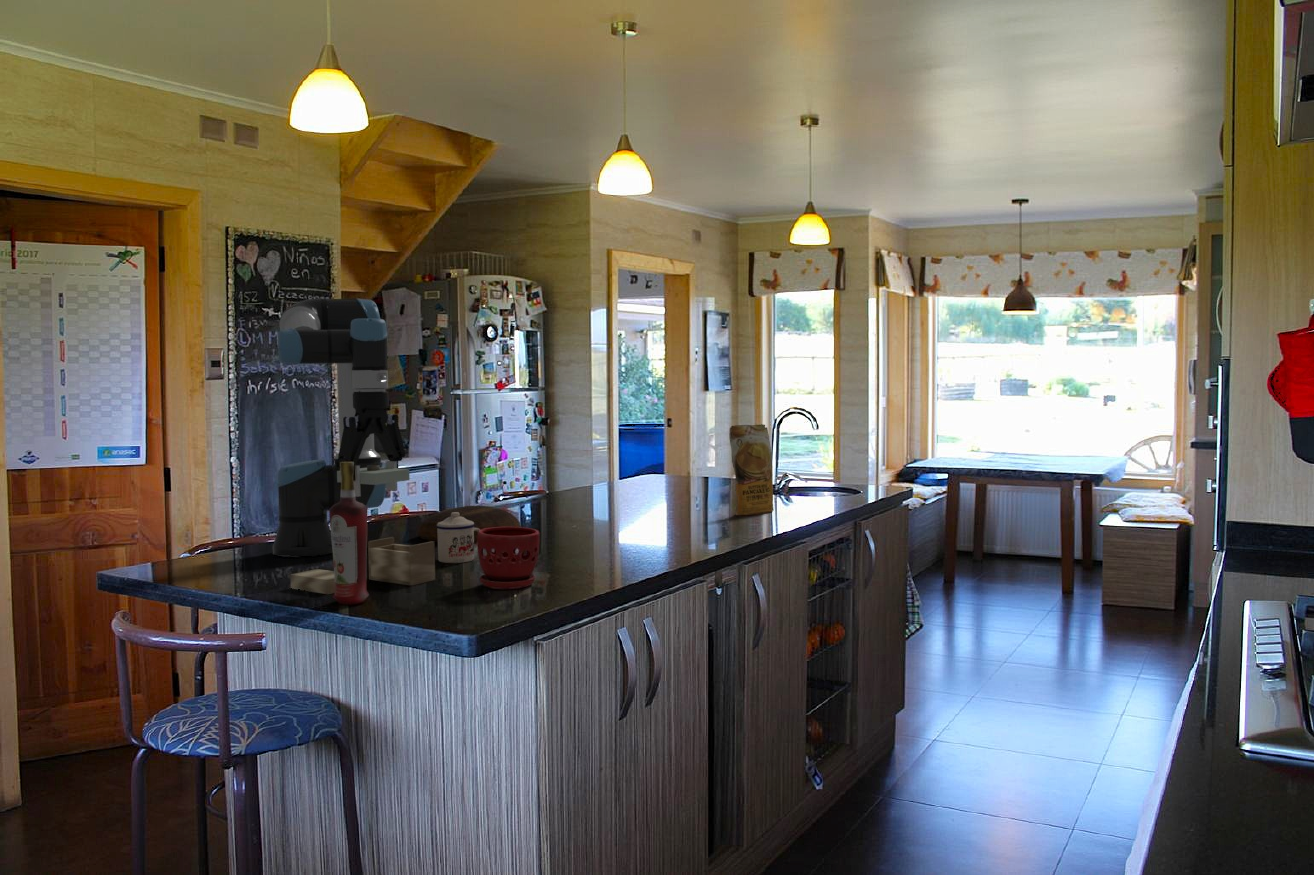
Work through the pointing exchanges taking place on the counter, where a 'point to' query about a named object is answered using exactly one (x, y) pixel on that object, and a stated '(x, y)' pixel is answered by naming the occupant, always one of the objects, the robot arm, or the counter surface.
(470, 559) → the teacup with lid
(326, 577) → the stand
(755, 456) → the pancake mix bag
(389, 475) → the lid
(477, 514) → the bread
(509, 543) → the plant pot
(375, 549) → the wooden box
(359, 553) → the liquor
